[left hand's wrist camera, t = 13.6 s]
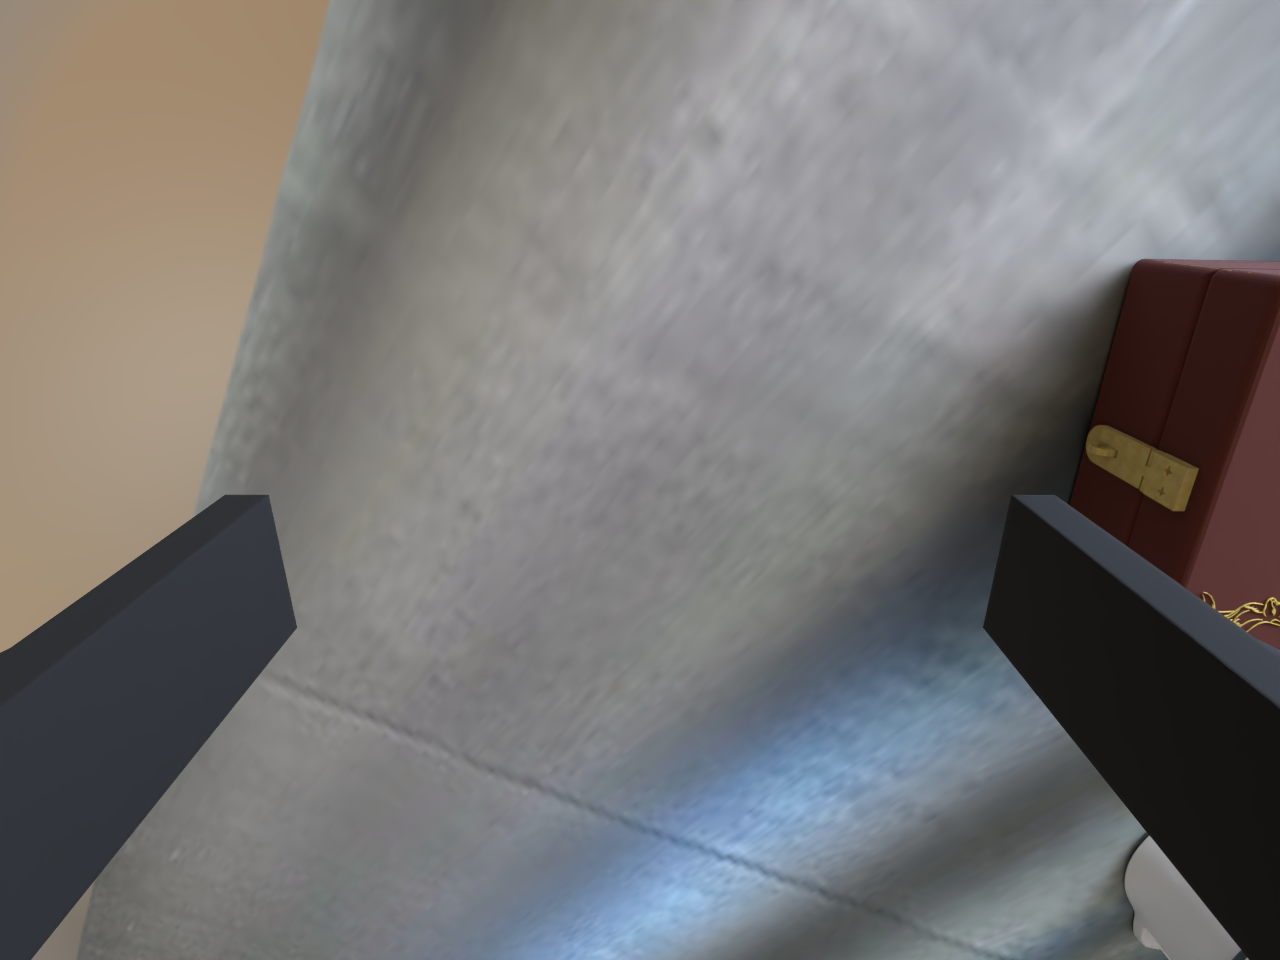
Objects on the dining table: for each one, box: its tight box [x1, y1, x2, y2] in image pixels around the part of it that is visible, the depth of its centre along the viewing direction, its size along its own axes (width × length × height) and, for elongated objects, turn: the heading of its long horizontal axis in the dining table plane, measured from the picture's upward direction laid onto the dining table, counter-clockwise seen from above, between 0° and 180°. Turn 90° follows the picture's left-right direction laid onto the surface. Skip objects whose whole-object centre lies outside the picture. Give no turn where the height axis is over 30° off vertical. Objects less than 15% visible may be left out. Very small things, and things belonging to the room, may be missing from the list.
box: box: [1069, 259, 1280, 650], centre depth 39 cm, size 21×16×10 cm
